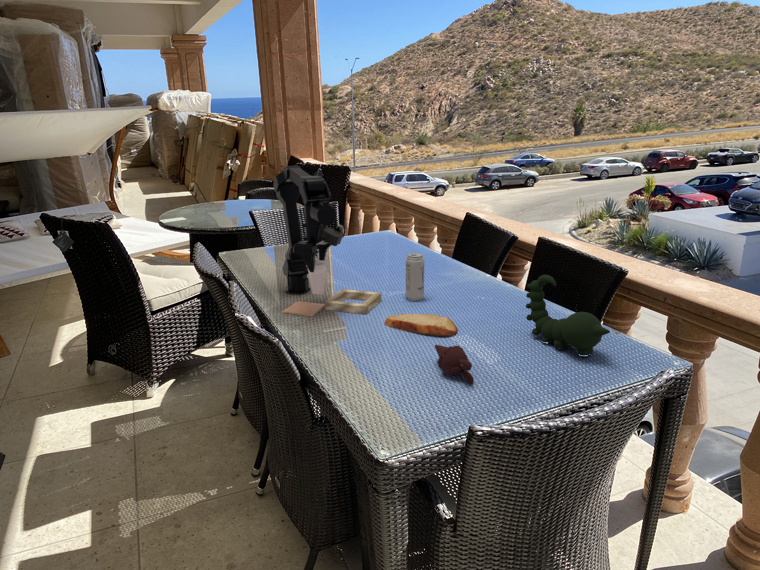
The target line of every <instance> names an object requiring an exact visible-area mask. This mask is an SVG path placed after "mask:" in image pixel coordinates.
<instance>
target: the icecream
mask: <svg viewBox="0 0 760 570" xmlns="http://www.w3.org/2000/svg"><path fill="white" fill-rule="evenodd" d="M434 349H435V351H436V353H437V356H438V357H439V358H438V359H437V361H436V363H437V365H438V368H439V369H440V370H441V371H442V372H444V373H446V374H449V375H453V376H454V375H455V376H457V375H461V377H463V379H464V380H465V381H466V382H467V383H468V384H472V383H473V382H474V377H473V375H472V374H471V372H469V371H471V370H472V367H473V364H472V363H471V361H470V360H469V358H468V355H467V354H466V352H465V350H464V348H463V347H461V346H459V345H453V346H444V345H440V344H435V345H434Z"/></svg>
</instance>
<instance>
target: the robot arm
mask: <svg viewBox="0 0 760 570" xmlns="http://www.w3.org/2000/svg"><path fill="white" fill-rule="evenodd" d="M326 181H327V180H325V178H323V176H319V175H310V174H309V173H308V172H306V171H305V170H303V169H302V168H301V166H298V165H287V166H285V167H283V169H282V171H280V172H279V173H278V174H276V175H275V178H274V181H273V190H274V192H275V195H276V198H277V199H278V201H279V202H280V203H281V204H282V208H283V209H282V210H283V216H284V222H285V229H286V236H287V237H286V238H287V243H288V247H287V251H286V253H285V256H284V257H285V260H284V263H283V266H282V273H283V275H284V276H285V277H286V280H287V283H286V284H287V290H285V293H286V292H290V293H289V294H295V293H299V294H298V295H303V294H305V293H306V292H308V291H309V290H310V289H311V287H310V278H309V277H308V275H309V272H308V269H309V271H310V272H314V267H315V260H316V258H317V254H318V253H319V260H322V261H326V259H325V258H326V256H327V253H328V250H329V248H330V247H331V246H333V247H337V246H338V245H341V242H342V240H343V239H344V238H345V235H344V231H343V227H341V226H340V225H338V226H336V227H334V228H333V227H332V228H330V227H329V226H330V225H331V224H333V223H334V222H335V220H336V216H337V212H336V209H335V208H334V207H333V206H331V205H330V202H331V201H332V194H331V191H330V188H329V185H328V184H327V182H326ZM300 196H301V198H302V203H304V204H303V205H304V206H303V208H304V209H303V210H304V222H303V223H302V228H304V229H305V230H304V231H305V236H303V239H302V232H301V226H300V218H299V213H298V211H299V210H298V205H297V201H298V200H299V197H300ZM317 249H319V251H317ZM304 292H305V293H304Z"/></svg>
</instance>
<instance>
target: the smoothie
mask: <svg viewBox="0 0 760 570" xmlns="http://www.w3.org/2000/svg"><path fill="white" fill-rule="evenodd" d="M317 251H319V249H317ZM327 267H328V263H327V261H326V260H324V261H322V260H319V253H318V254H317V257H316V259H315V267H314V272H310V271H309V269H308V272H309V274H308V279H309V285H310V289H311V293H312V294H313V295H321V294H324V292H325V286H326V285H325V284H326V272H327Z"/></svg>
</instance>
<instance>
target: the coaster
mask: <svg viewBox="0 0 760 570" xmlns="http://www.w3.org/2000/svg"><path fill="white" fill-rule="evenodd" d="M323 309H325V305H324V303H318V302H316V303H315V302H307V301H301V300H300V301H299V300H297V301H296V302H295V303H293V304H292V305H290V306H289V307H287V308H285V309H284V310H282V314H286V313H289V314H288V315H294V314H298V315H297V316H302V315H305V316H304V317H310V316H311V317H310V318H312V317H313V316H315V315H317V314H318V313H319V312H320V311H321V310H323Z"/></svg>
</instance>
